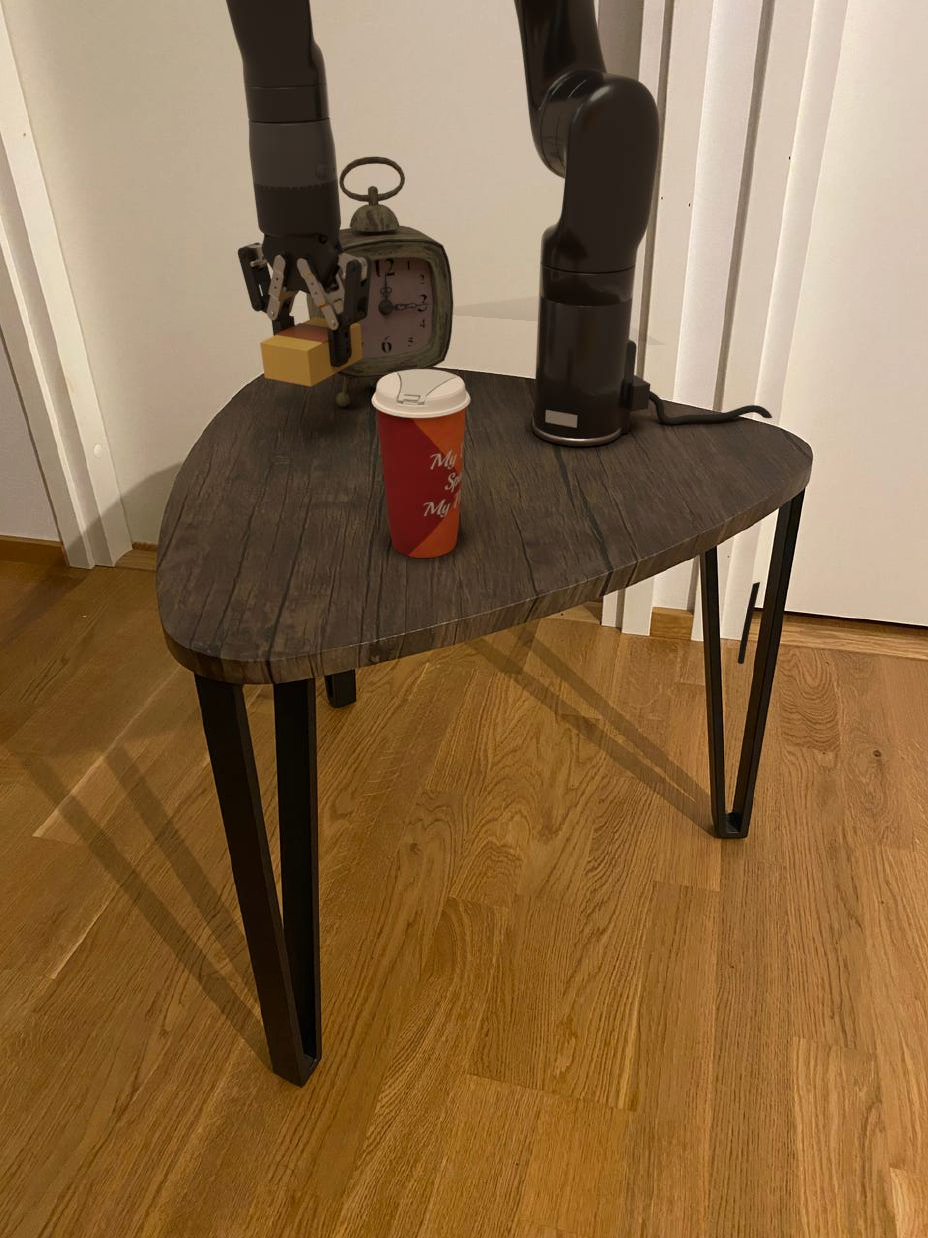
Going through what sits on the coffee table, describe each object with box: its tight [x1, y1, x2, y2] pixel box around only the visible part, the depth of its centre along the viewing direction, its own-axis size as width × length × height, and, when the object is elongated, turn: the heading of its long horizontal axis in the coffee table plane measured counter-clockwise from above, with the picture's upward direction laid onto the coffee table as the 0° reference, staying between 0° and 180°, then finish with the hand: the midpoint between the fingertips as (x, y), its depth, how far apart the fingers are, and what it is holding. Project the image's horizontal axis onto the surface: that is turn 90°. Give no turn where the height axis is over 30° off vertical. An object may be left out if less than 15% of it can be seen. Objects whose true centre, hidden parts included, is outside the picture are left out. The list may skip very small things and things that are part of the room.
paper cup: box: [371, 368, 471, 559], centre depth 80 cm, size 8×8×14 cm
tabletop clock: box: [305, 156, 454, 408], centre depth 106 cm, size 14×9×25 cm, turn 111°
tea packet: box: [259, 317, 363, 387], centre depth 96 cm, size 9×6×4 cm, turn 152°
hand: (313, 359), depth 97 cm, fingers closed on tea packet, 5 cm apart
